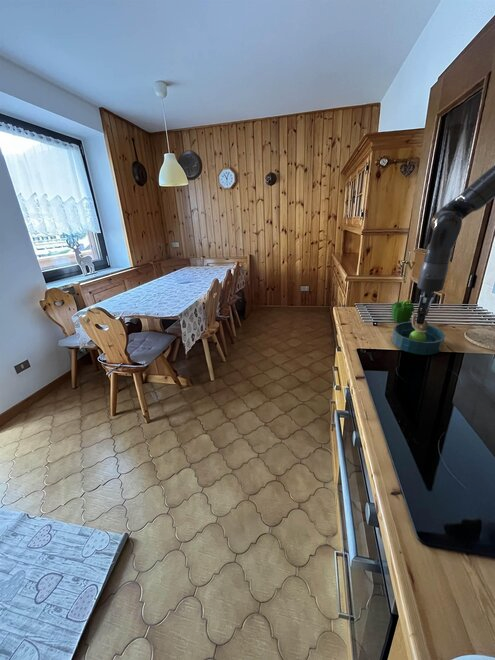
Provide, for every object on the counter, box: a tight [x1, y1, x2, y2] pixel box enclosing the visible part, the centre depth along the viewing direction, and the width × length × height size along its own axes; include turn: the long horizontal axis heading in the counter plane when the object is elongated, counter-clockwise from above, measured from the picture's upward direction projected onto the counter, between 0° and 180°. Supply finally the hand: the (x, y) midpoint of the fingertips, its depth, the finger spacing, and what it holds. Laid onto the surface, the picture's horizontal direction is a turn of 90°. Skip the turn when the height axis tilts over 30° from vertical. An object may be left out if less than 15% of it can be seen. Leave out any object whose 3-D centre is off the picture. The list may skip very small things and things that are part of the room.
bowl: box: [391, 321, 446, 356], centre depth 105 cm, size 16×16×6 cm
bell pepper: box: [391, 299, 415, 324], centre depth 121 cm, size 8×8×10 cm
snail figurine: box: [409, 310, 429, 342], centre depth 103 cm, size 5×6×12 cm
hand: (421, 319), depth 101 cm, fingers open, 8 cm apart
